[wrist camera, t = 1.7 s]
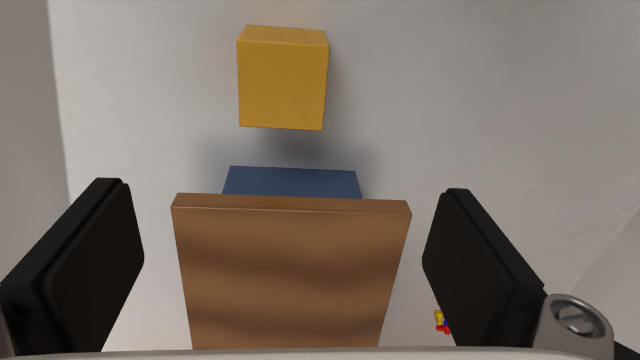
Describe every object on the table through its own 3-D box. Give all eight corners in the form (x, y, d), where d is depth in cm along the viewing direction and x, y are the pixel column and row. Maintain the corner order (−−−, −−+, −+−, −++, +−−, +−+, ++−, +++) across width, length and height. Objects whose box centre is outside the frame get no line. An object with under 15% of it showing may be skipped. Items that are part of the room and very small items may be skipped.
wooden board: (177, 191, 21) (169, 206, 20) (406, 199, 23) (413, 214, 22) (204, 382, 32) (200, 400, 30) (361, 379, 33) (363, 396, 32)
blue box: (230, 165, 29) (213, 219, 23) (354, 170, 30) (370, 224, 24) (237, 302, 37) (226, 368, 31) (334, 303, 38) (341, 367, 32)
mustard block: (246, 24, 23) (236, 39, 19) (323, 30, 24) (330, 46, 20) (248, 99, 26) (239, 126, 22) (317, 103, 26) (322, 131, 22)
